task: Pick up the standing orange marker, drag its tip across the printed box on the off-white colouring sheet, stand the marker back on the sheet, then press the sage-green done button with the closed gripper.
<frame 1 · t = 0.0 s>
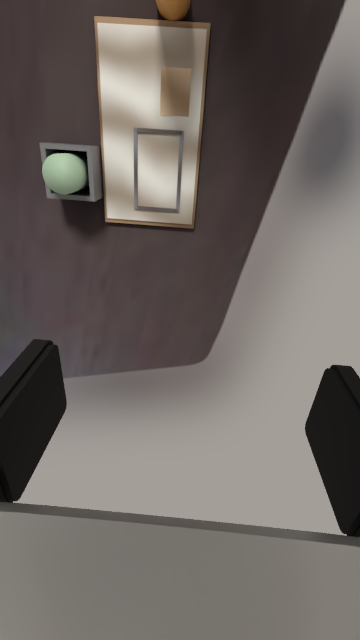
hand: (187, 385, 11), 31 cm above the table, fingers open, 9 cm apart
sheet: (151, 136, 35), on the table
button housing: (79, 170, 37), on the table
done button: (68, 173, 34), point 3 cm above the table, slide at 0.0 cm
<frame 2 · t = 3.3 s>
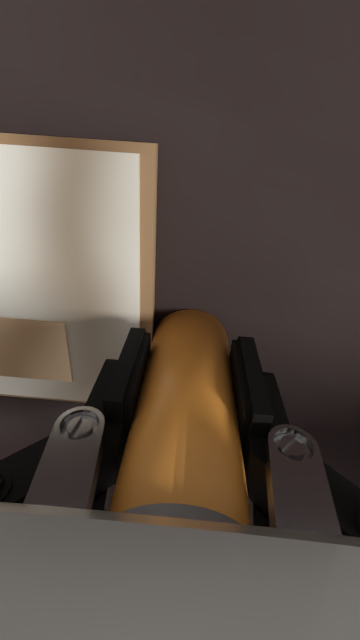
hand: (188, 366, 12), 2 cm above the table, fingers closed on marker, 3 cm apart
marker: (190, 342, 14), on the table, touching gripper, sheet
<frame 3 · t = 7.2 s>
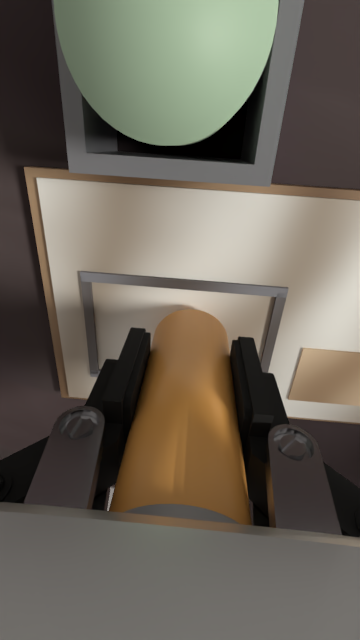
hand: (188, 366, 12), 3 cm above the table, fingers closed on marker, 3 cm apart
sheet: (259, 316, 14), on the table
marker: (190, 342, 14), point 1 cm above the table, touching gripper
button housing: (182, 78, 10), on the table
done button: (173, 49, 7), point 3 cm above the table, slide at 0.0 cm
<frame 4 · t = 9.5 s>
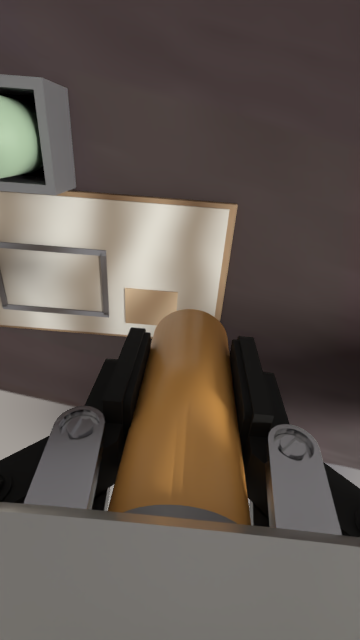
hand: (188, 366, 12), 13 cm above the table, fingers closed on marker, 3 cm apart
sheet: (100, 269, 24), on the table
marker: (190, 342, 14), point 11 cm above the table, touching gripper
button housing: (29, 138, 20), on the table
when the fingers open (3 cm above the table, at t = 11.3 s): marker stays where it is, resting on sheet.
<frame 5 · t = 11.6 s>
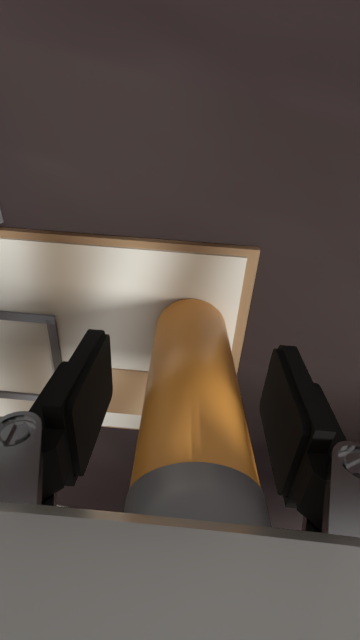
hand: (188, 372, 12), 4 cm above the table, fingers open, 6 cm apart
sheet: (52, 338, 16), on the table
marker: (190, 330, 14), point 1 cm above the table, touching sheet
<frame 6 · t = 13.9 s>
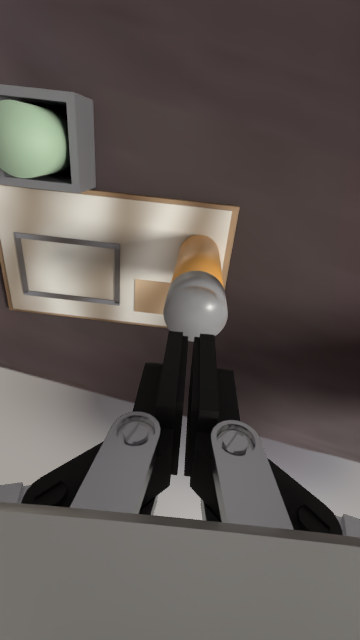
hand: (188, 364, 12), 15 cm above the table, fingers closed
sheet: (113, 262, 26), on the table
marker: (199, 255, 25), point 1 cm above the table, touching sheet
button housing: (56, 142, 22), on the table
done button: (33, 141, 19), point 3 cm above the table, slide at 0.0 cm
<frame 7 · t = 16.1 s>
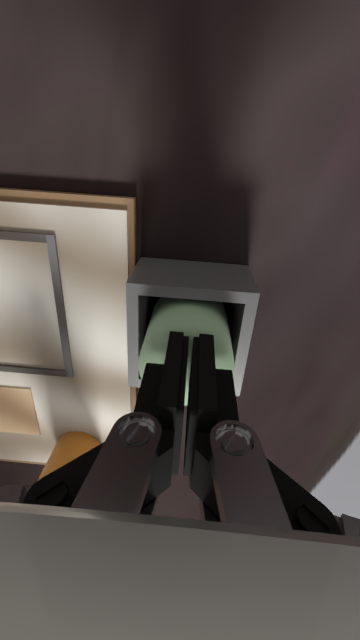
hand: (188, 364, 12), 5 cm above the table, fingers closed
sheet: (47, 356, 19), on the table
marker: (80, 447, 22), point 1 cm above the table, touching sheet
button housing: (190, 309, 17), on the table
done button: (187, 341, 14), point 3 cm above the table, slide at 0.2 cm, touching gripper
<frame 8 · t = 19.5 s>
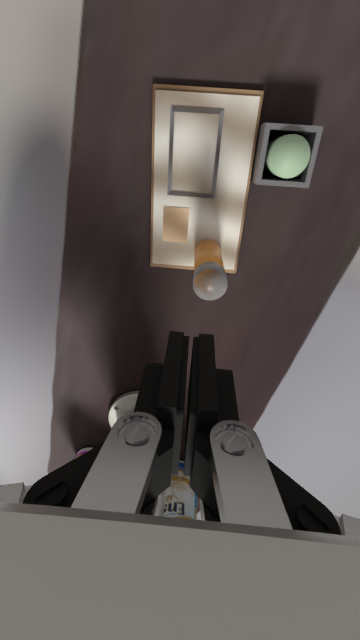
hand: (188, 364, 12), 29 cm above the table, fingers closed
beverage bottle: (176, 471, 61), on the table
sheet: (199, 189, 36), on the table
marker: (207, 252, 39), point 1 cm above the table, touching sheet
button housing: (280, 155, 34), on the table
done button: (285, 156, 32), point 2 cm above the table, slide at 1.3 cm
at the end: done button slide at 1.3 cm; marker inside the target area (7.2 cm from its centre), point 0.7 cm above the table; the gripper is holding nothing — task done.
